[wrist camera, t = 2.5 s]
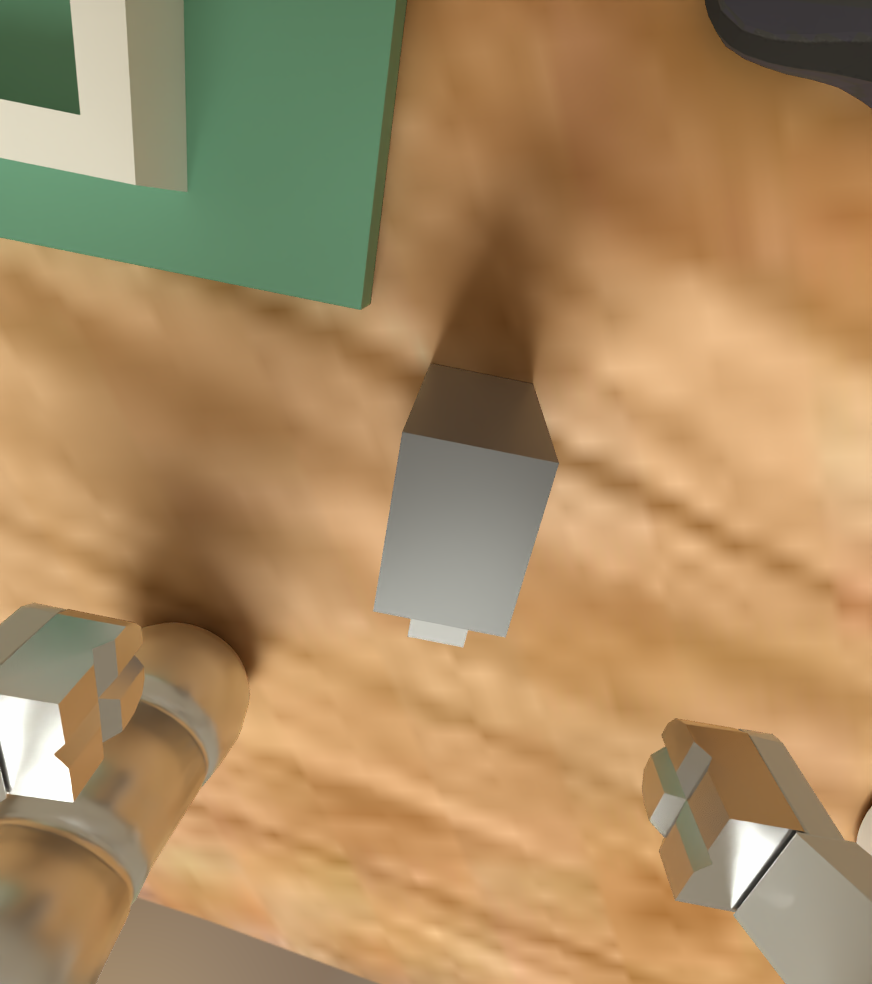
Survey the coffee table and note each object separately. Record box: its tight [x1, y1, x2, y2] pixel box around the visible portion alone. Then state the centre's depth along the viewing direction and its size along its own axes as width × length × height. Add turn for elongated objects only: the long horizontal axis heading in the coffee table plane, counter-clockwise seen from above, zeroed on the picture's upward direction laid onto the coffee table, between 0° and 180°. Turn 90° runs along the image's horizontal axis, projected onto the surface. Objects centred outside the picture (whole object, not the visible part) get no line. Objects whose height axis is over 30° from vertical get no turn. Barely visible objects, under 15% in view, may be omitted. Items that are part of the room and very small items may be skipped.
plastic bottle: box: [0, 622, 250, 984], centre depth 16 cm, size 6×7×20 cm
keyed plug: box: [373, 364, 559, 647], centre depth 16 cm, size 4×6×7 cm, turn 170°
